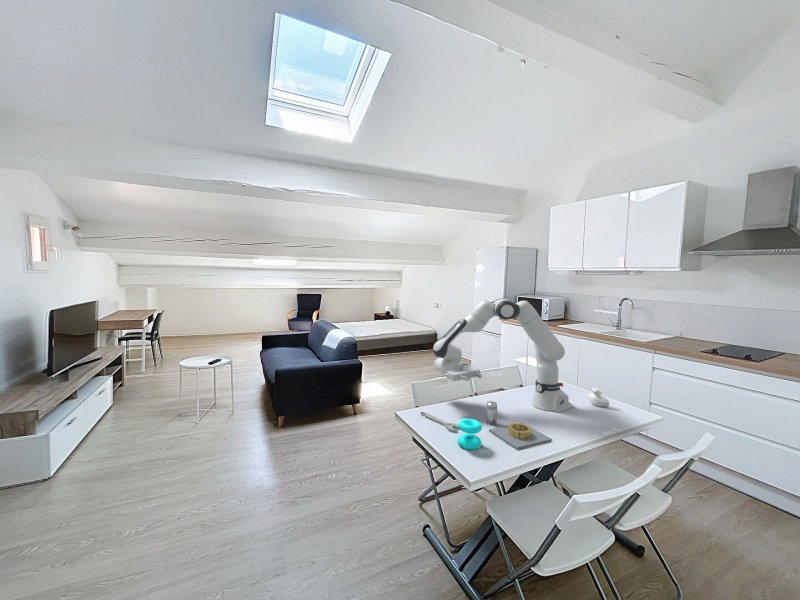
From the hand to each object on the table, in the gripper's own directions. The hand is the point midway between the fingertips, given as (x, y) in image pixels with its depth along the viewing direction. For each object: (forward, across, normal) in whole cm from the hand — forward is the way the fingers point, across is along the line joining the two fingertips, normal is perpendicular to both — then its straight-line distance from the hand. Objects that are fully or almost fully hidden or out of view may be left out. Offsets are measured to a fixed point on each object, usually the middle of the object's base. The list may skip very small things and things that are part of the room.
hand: (474, 377), depth 174 cm
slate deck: (+28, 0, +20) cm, 35 cm away
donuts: (+22, -25, +20) cm, 39 cm away
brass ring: (+28, 0, +20) cm, 35 cm away
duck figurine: (+29, +70, +19) cm, 78 cm away
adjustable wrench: (-2, -21, +20) cm, 29 cm away
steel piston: (+12, 0, +20) cm, 23 cm away
